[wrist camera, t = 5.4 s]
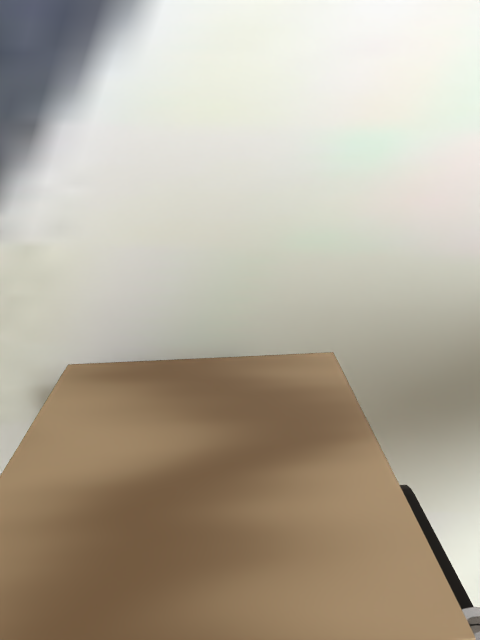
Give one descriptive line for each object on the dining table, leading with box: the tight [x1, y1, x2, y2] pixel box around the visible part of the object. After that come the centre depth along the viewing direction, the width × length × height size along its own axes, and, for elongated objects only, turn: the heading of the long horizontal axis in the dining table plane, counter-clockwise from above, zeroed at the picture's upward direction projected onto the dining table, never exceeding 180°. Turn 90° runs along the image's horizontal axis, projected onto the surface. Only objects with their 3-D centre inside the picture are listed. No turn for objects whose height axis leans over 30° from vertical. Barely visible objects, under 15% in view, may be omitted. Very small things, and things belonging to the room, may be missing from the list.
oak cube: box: [0, 352, 476, 640], centre depth 8 cm, size 6×6×6 cm
